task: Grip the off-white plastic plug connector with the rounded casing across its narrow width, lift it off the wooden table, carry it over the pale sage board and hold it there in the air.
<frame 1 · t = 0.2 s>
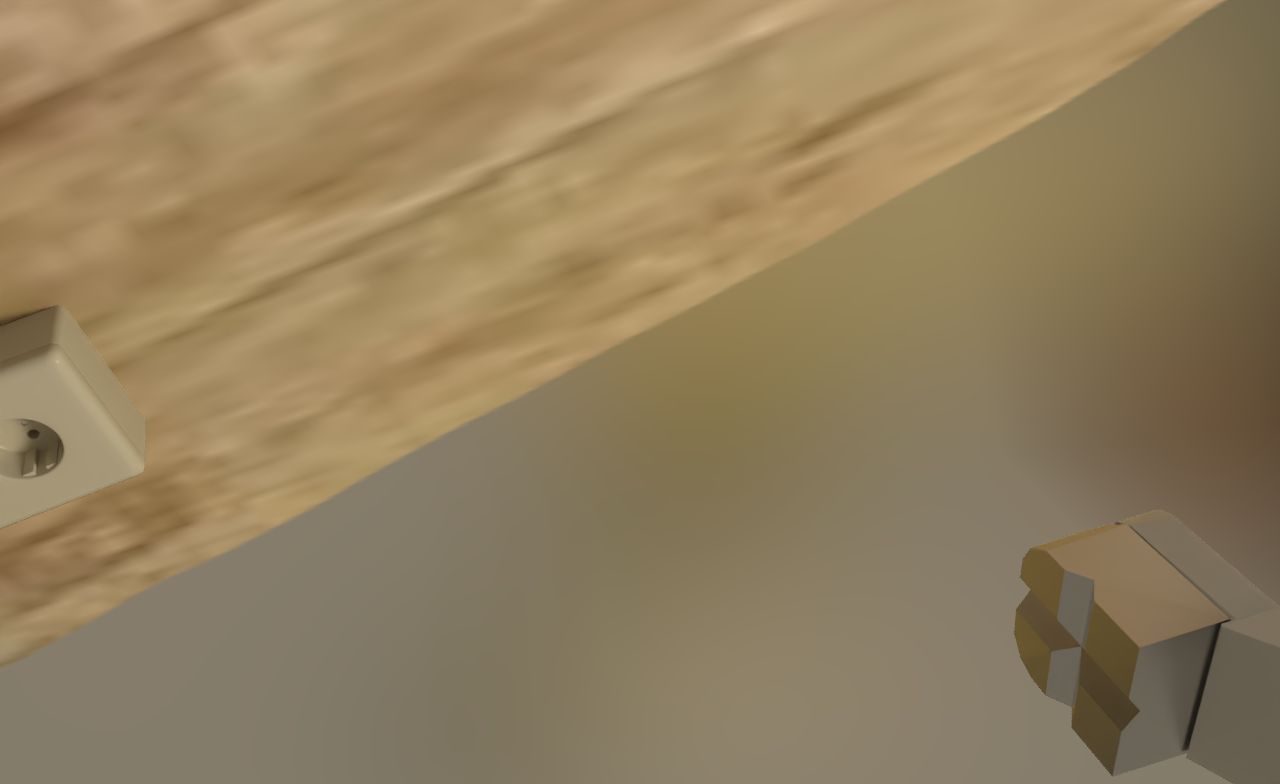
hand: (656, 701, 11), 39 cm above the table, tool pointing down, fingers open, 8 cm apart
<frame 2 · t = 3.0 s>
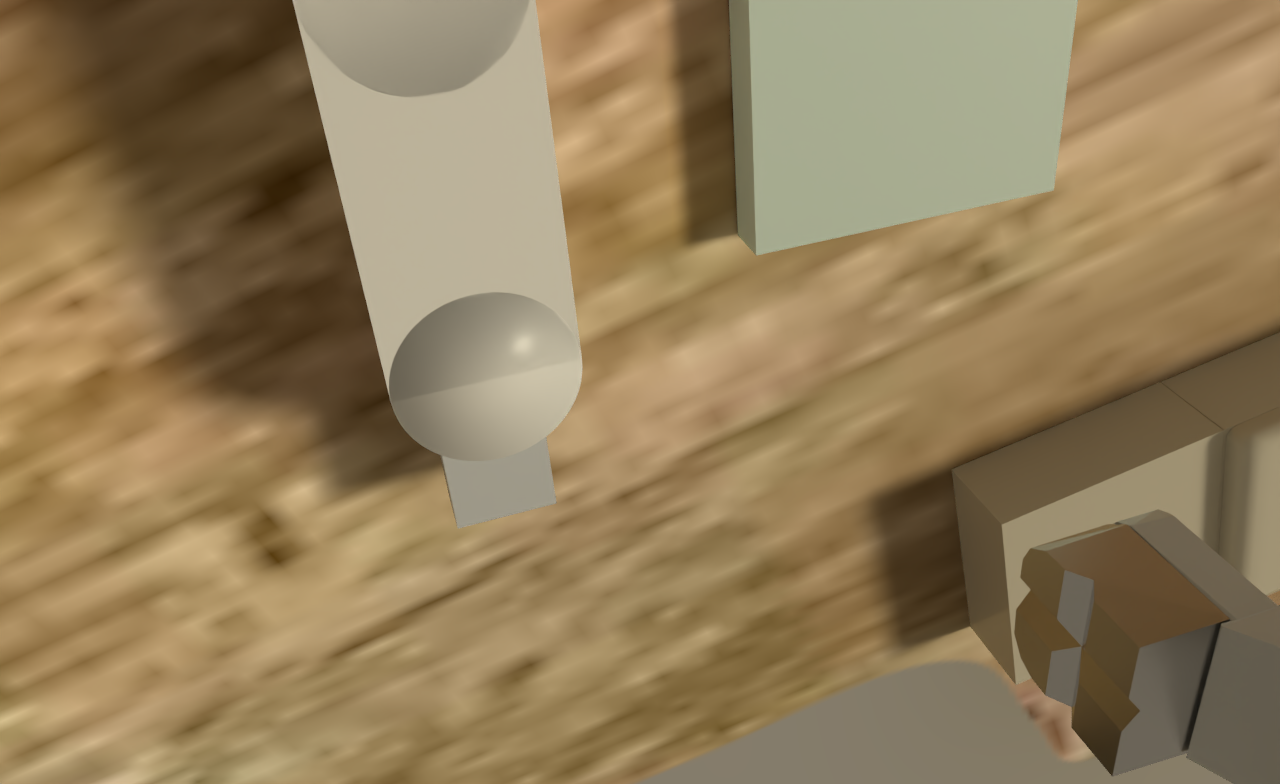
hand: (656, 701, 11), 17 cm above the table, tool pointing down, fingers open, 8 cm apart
electrical outlet: (1195, 438, 38), on the table
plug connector: (424, 130, 25), on the table
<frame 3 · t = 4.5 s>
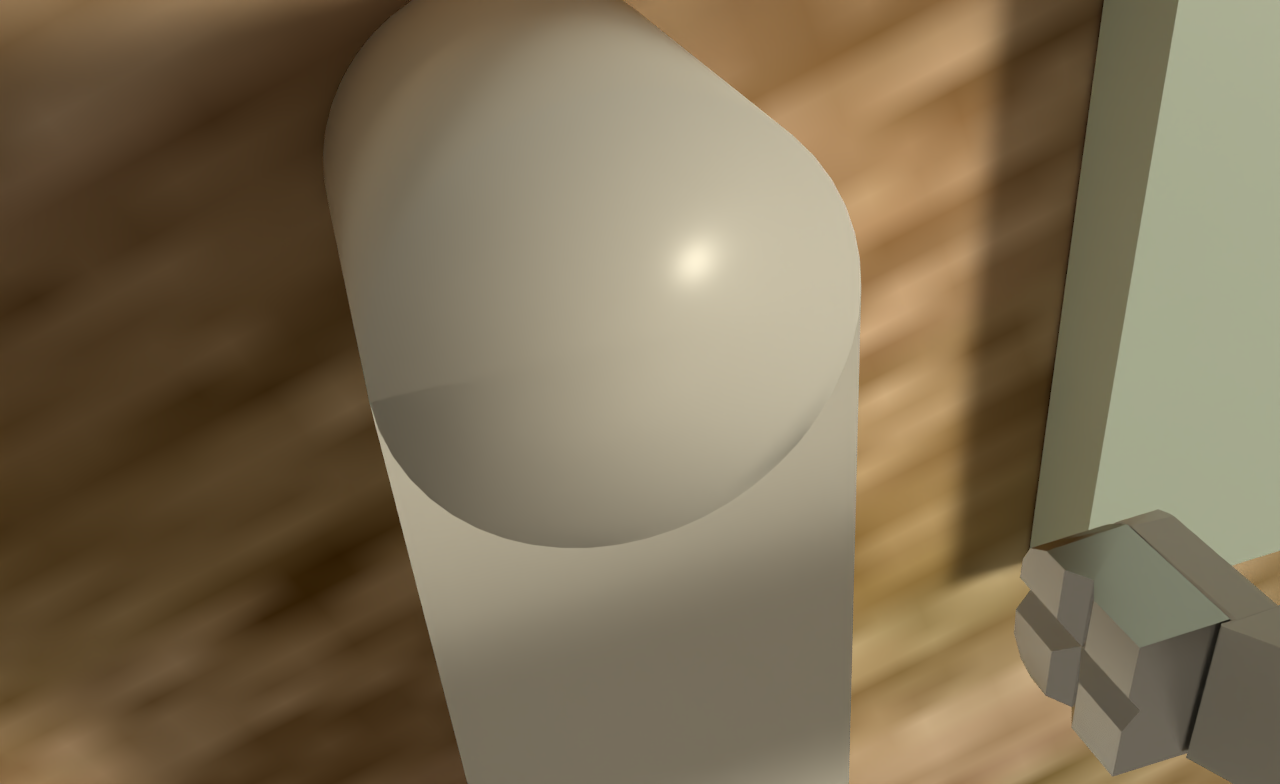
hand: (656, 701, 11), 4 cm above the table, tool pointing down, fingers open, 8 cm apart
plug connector: (563, 465, 14), on the table
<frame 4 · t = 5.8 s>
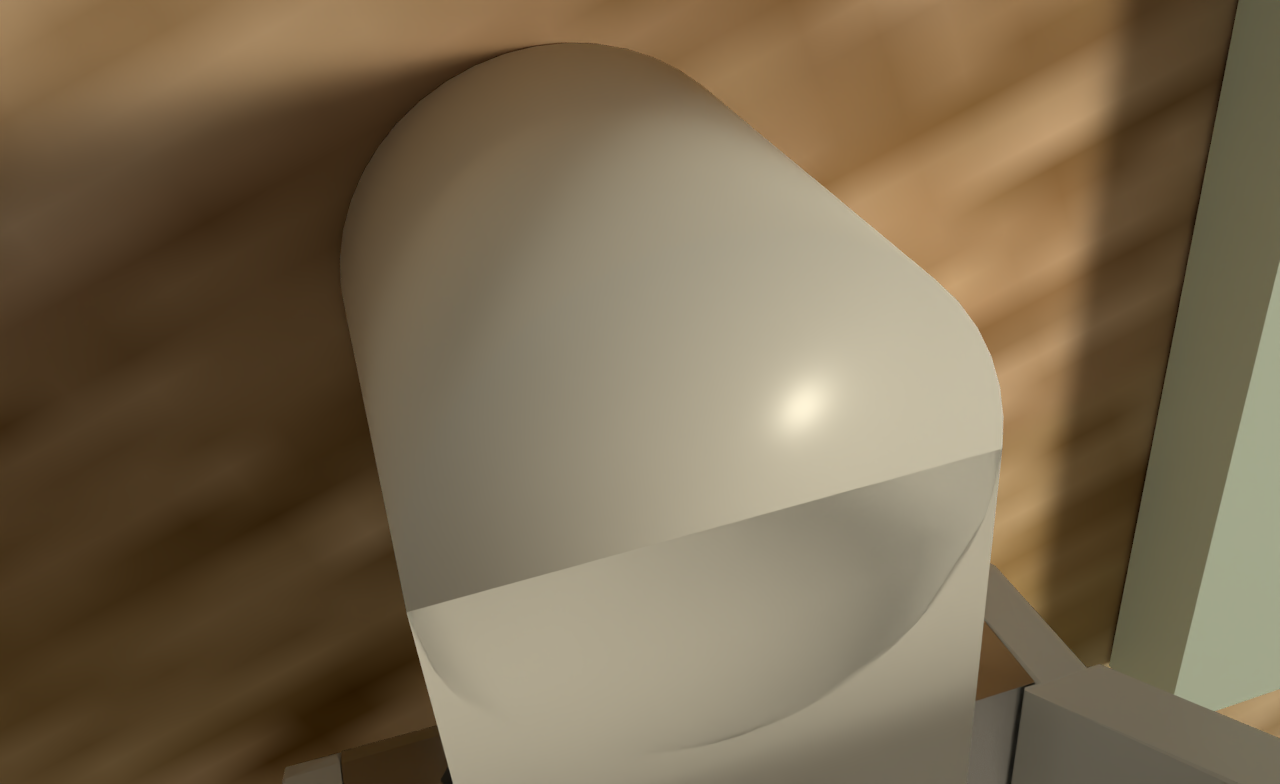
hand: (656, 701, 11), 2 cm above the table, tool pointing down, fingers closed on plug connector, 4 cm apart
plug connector: (609, 588, 13), on the table, touching gripper
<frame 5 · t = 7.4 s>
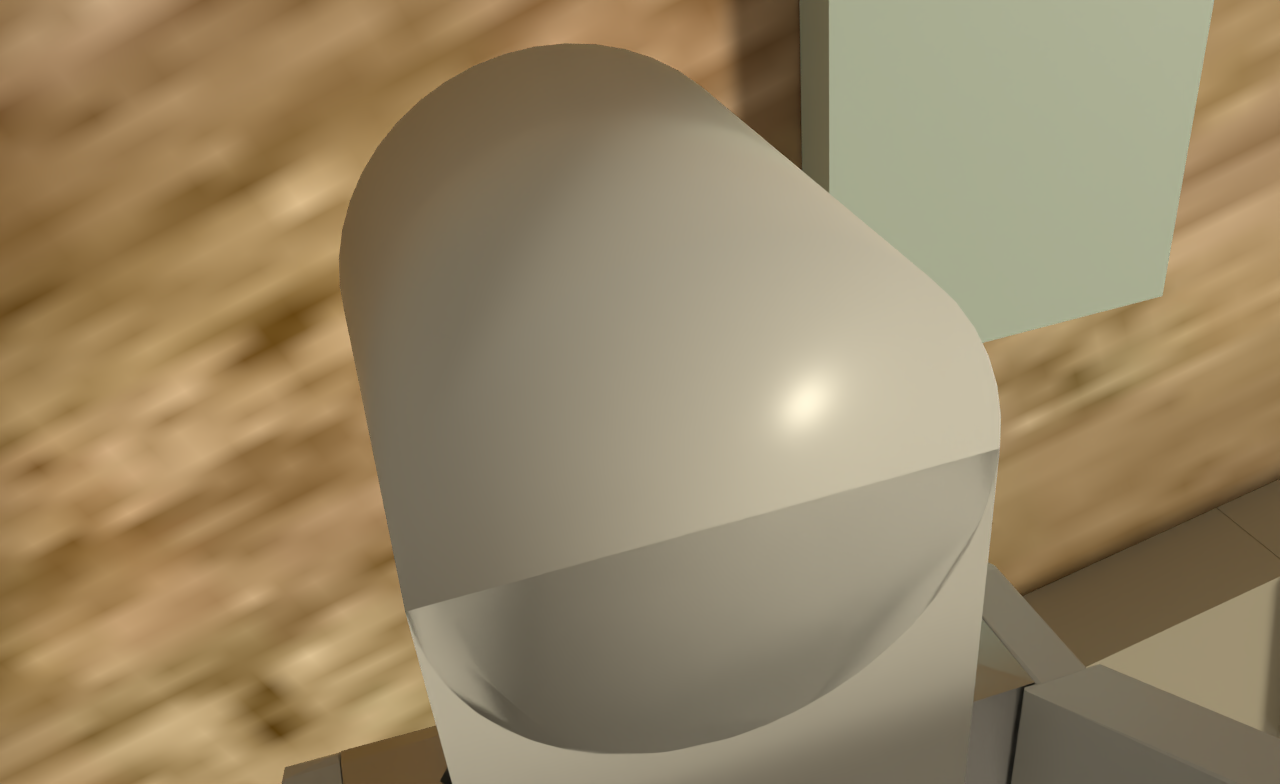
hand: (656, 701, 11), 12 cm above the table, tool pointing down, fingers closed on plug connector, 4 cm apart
electrical outlet: (1251, 560, 34), on the table
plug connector: (608, 588, 13), point 10 cm above the table, touching gripper
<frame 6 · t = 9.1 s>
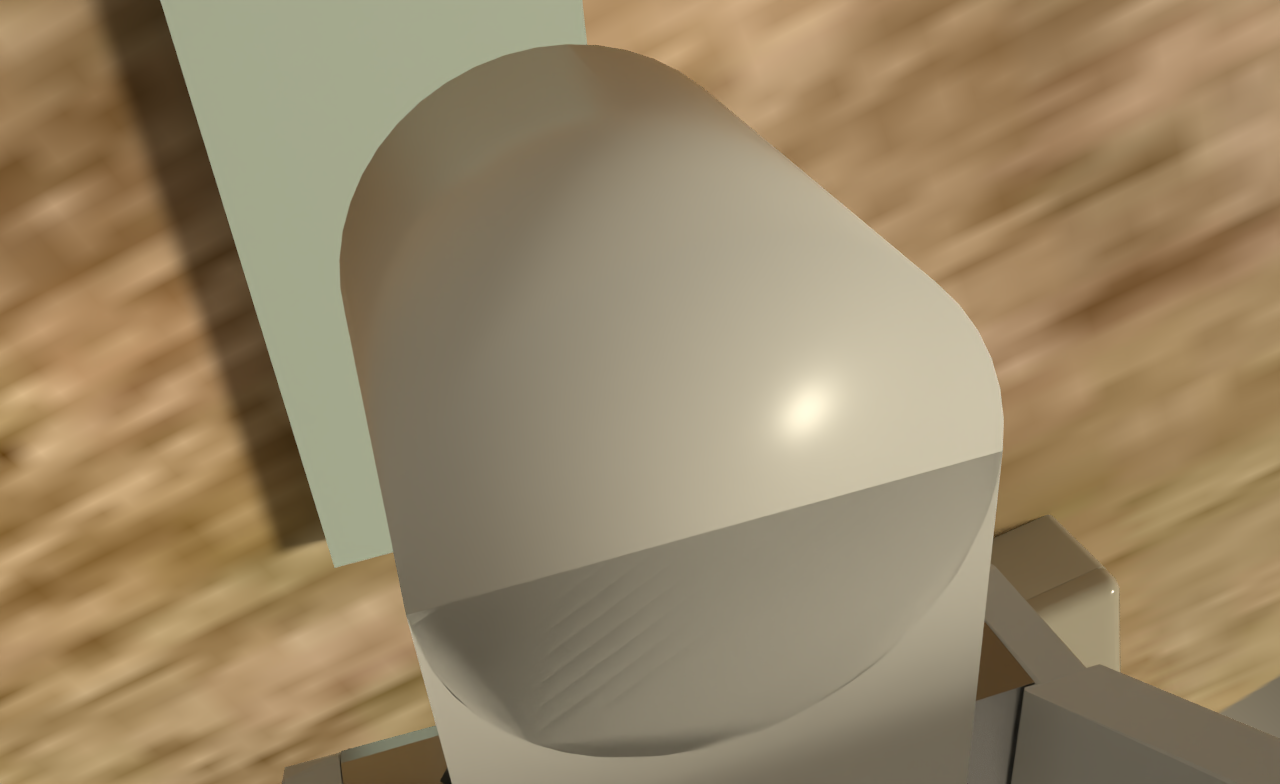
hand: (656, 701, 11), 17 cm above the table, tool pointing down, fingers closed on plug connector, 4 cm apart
sage board: (407, 143, 25), on the table
electrical outlet: (818, 678, 40), on the table
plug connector: (609, 590, 13), point 16 cm above the table, touching gripper
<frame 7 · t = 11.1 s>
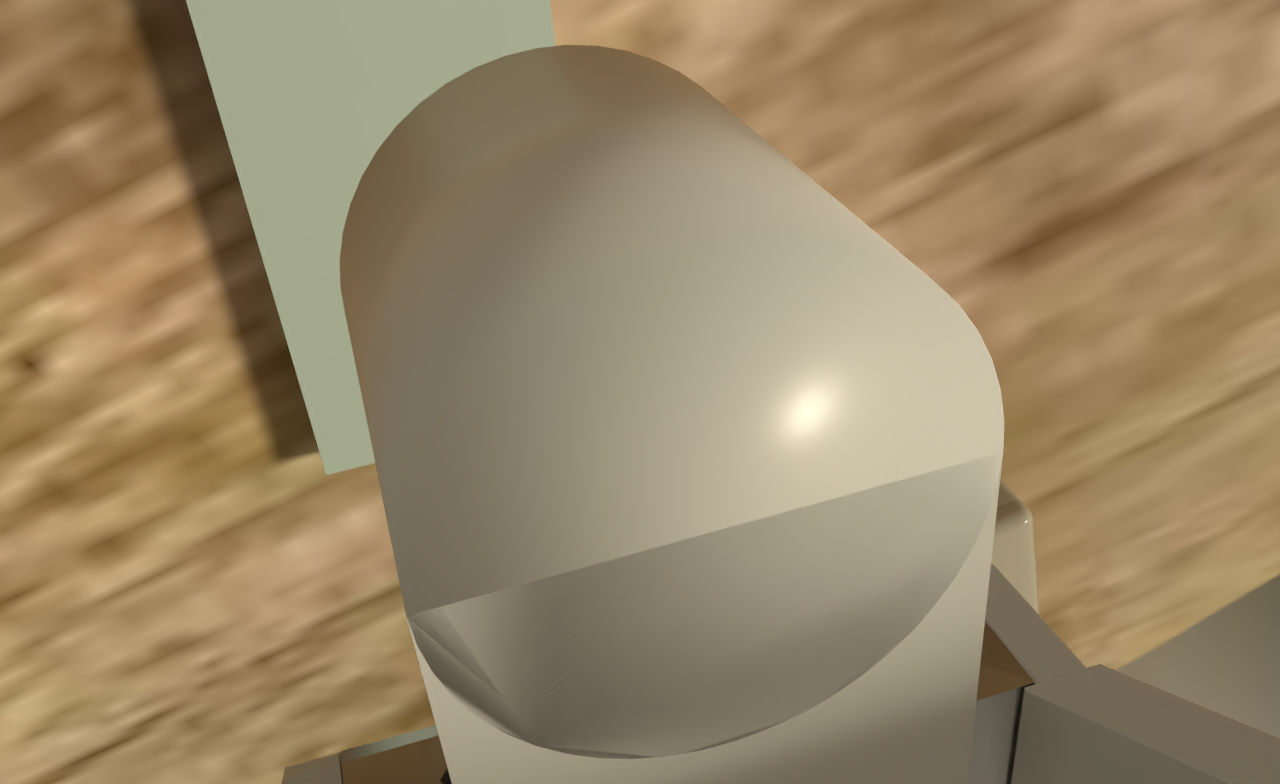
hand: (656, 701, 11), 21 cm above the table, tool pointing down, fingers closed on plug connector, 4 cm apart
sage board: (390, 86, 28), on the table
electrical outlet: (761, 607, 43), on the table
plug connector: (609, 590, 13), point 19 cm above the table, touching gripper
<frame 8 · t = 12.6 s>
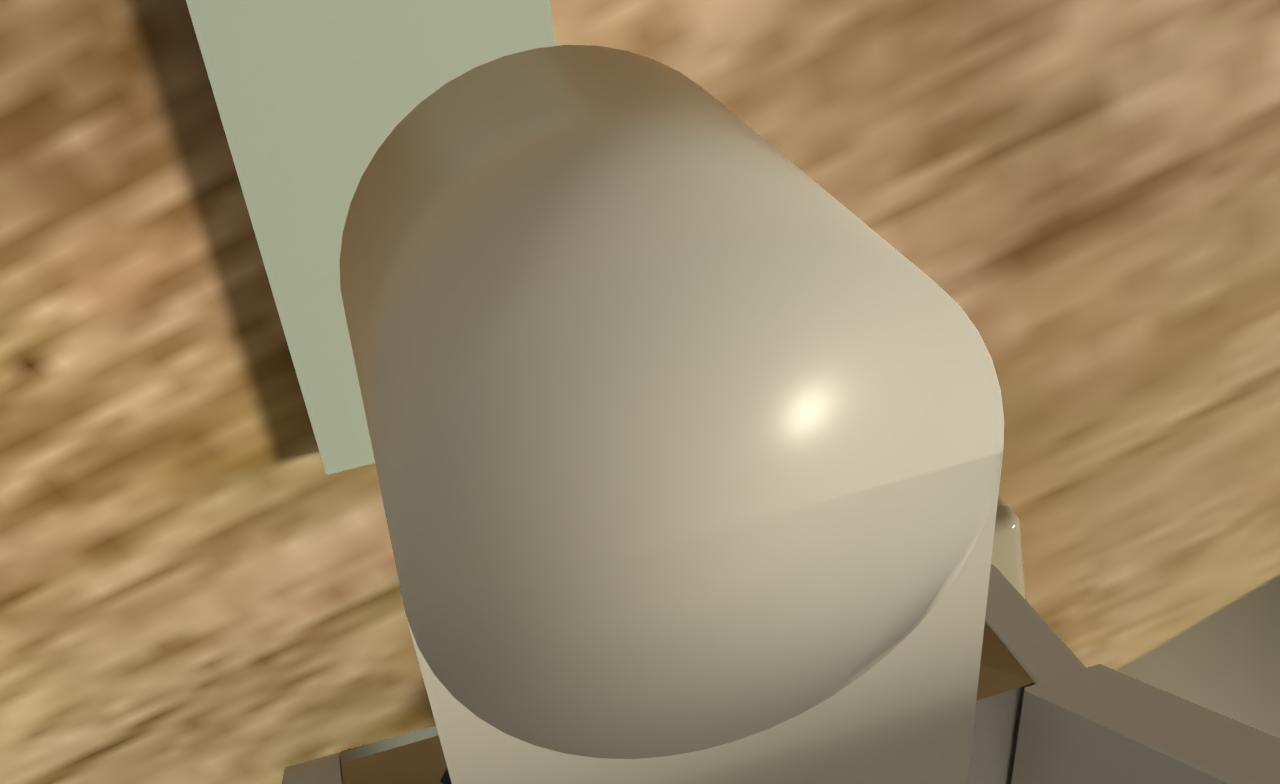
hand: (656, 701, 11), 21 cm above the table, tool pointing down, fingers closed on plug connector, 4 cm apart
sage board: (390, 86, 28), on the table
electrical outlet: (749, 612, 43), on the table
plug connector: (609, 590, 13), point 19 cm above the table, touching gripper
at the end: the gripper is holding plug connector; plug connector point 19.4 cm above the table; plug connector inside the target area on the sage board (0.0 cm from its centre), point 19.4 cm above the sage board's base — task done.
